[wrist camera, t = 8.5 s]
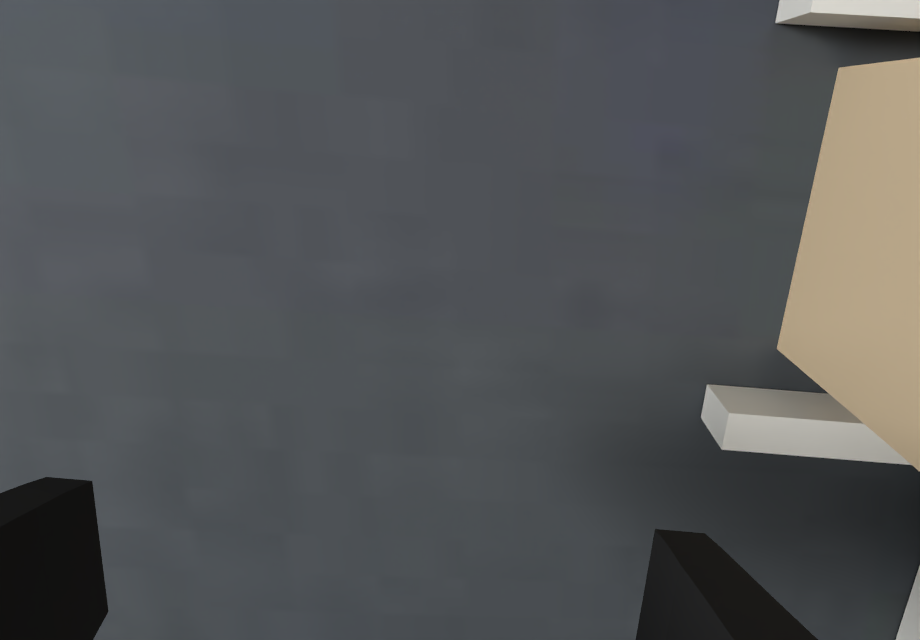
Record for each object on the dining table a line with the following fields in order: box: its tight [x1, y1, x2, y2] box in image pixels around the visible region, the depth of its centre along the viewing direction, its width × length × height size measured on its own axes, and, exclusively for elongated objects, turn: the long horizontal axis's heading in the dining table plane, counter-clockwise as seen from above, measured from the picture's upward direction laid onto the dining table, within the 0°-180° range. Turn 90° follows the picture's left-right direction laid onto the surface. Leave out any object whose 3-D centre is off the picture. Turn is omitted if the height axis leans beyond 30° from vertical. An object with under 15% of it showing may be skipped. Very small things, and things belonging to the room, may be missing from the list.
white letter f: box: [701, 0, 920, 640], centre depth 17 cm, size 19×8×2 cm, turn 177°
